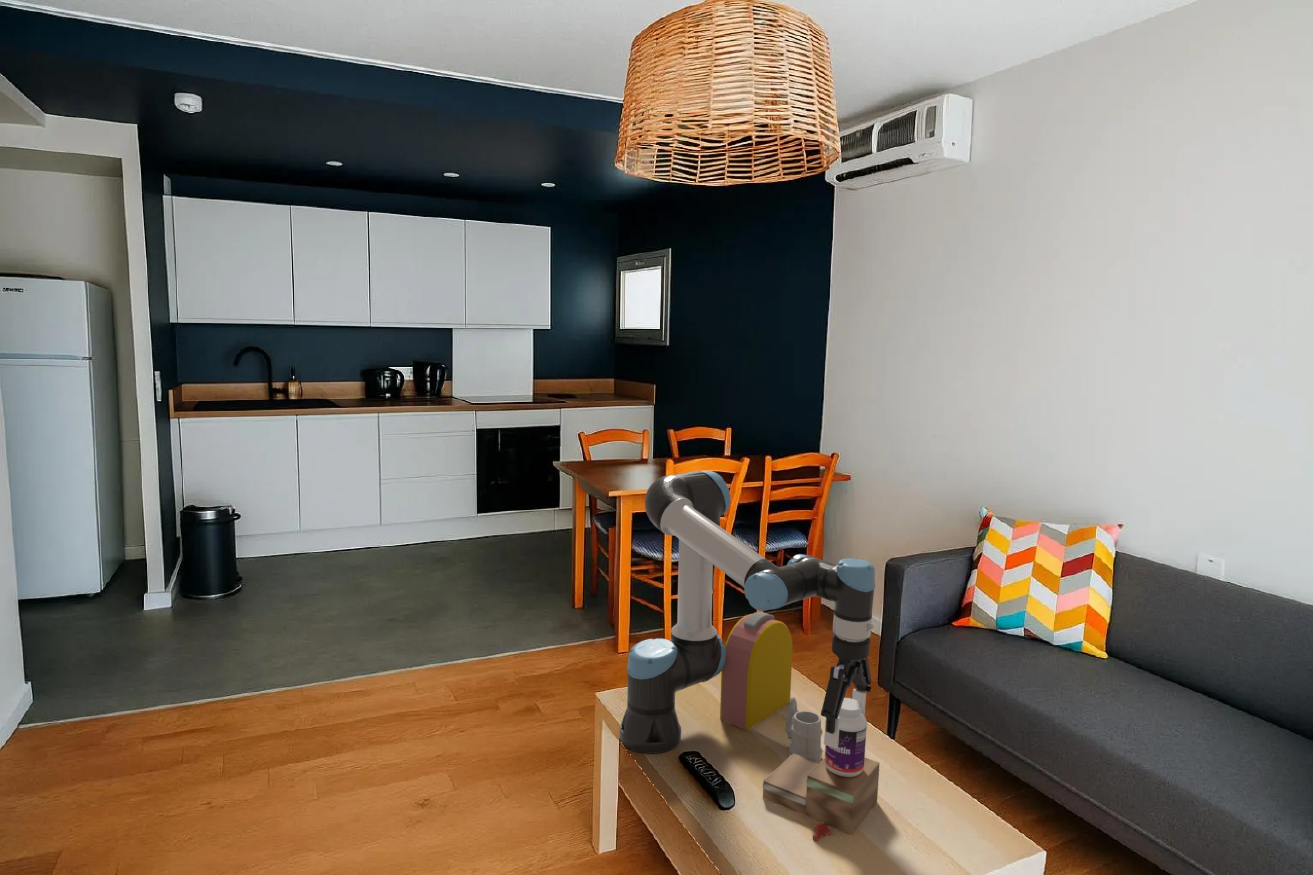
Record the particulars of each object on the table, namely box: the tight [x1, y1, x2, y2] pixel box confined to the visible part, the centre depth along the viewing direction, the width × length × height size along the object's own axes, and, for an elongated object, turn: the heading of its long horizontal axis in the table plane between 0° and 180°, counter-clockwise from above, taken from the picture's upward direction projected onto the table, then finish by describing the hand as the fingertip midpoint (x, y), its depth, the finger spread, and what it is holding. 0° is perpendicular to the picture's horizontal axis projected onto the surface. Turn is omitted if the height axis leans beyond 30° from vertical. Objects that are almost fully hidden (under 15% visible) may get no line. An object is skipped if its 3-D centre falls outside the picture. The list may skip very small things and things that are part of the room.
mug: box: [784, 696, 824, 763], centre depth 186 cm, size 8×12×12 cm, turn 26°
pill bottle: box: [824, 697, 868, 777], centre depth 163 cm, size 8×8×14 cm
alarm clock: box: [719, 611, 793, 730], centre depth 206 cm, size 21×9×26 cm, turn 140°
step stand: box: [762, 753, 880, 842], centre depth 165 cm, size 20×20×9 cm
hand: (844, 732), depth 163 cm, fingers open, 13 cm apart
